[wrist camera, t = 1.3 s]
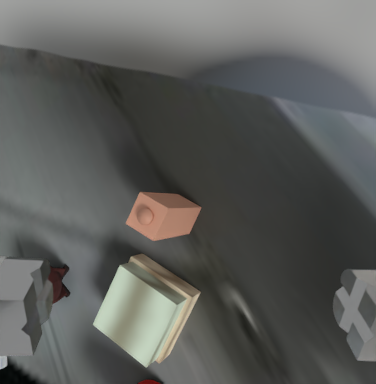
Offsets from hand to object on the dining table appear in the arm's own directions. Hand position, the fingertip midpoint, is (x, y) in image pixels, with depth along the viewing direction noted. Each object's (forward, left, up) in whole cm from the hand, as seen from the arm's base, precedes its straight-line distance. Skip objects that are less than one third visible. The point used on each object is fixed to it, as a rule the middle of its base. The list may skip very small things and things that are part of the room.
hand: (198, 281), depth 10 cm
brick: (+14, +7, -35) cm, 38 cm away
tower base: (+12, +20, -35) cm, 42 cm away
